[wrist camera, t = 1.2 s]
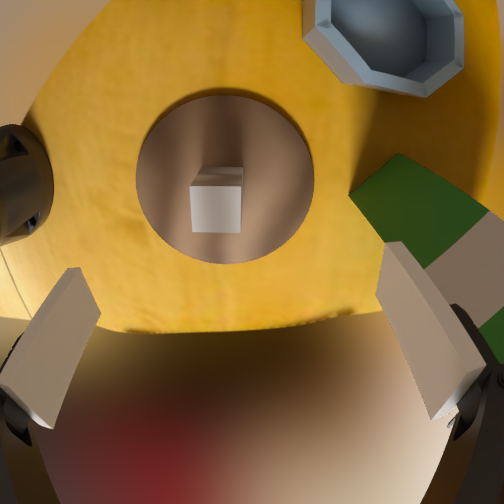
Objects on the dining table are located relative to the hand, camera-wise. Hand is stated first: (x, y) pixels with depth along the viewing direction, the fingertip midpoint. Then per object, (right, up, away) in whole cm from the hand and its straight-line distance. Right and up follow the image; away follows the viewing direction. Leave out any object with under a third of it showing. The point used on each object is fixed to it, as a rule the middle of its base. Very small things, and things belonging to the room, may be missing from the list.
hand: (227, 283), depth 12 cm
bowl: (+13, +23, +8) cm, 28 cm away
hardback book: (+20, +4, +20) cm, 29 cm away
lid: (-2, +8, +18) cm, 20 cm away
